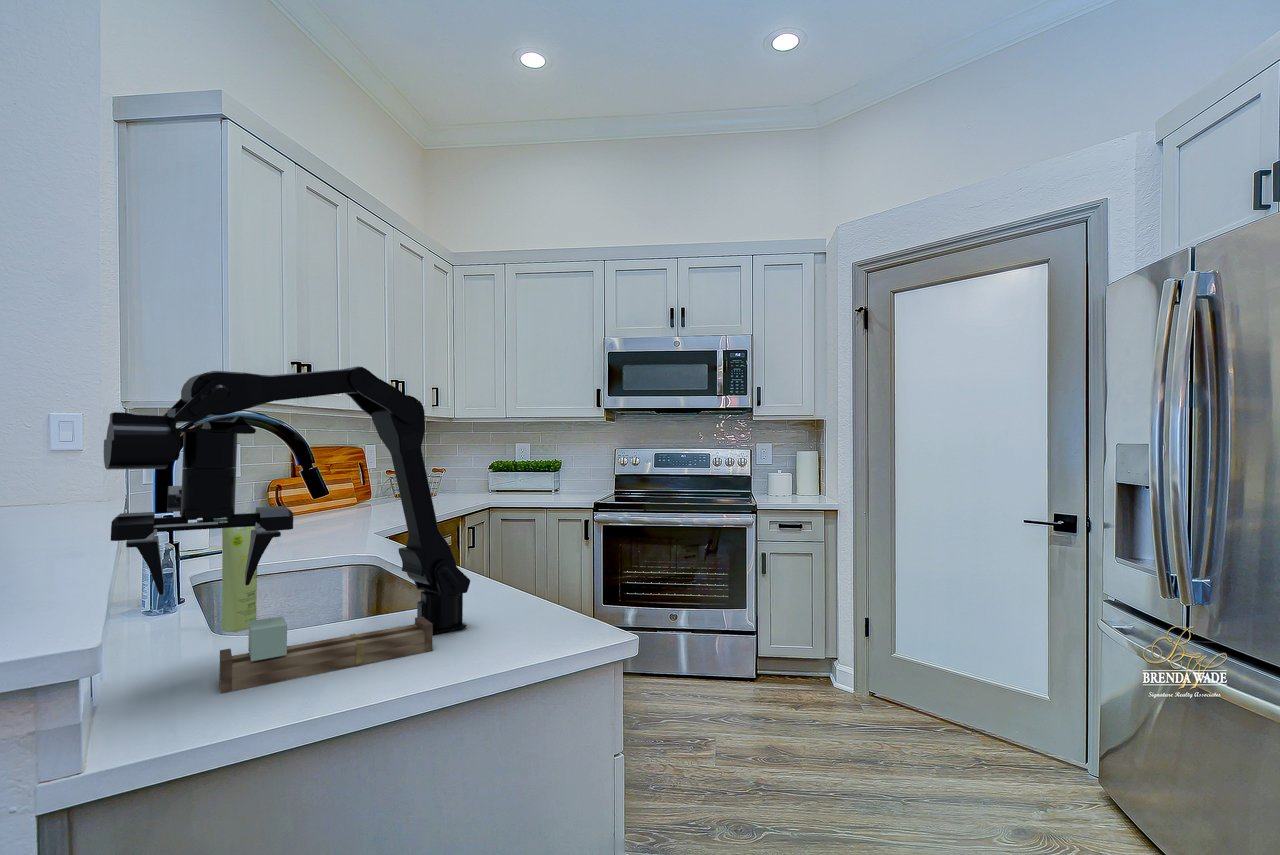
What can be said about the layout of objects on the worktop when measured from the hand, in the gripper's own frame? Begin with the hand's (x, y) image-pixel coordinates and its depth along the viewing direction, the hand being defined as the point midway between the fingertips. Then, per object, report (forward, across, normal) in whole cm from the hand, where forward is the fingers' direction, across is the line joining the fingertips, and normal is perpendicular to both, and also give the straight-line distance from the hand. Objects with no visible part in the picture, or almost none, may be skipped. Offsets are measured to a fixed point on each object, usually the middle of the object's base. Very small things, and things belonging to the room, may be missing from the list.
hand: (205, 589), depth 78 cm
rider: (+11, -7, +1) cm, 13 cm away
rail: (+12, -15, +1) cm, 20 cm away
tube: (+13, -6, -27) cm, 30 cm away
